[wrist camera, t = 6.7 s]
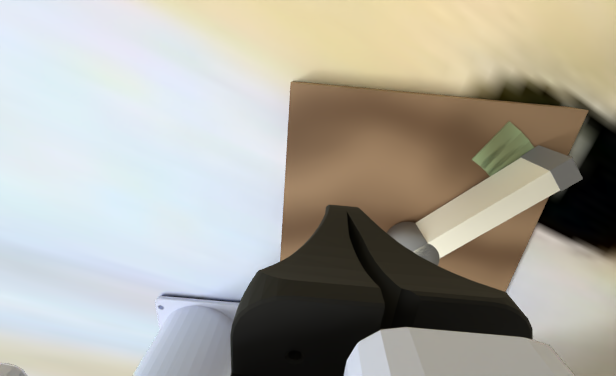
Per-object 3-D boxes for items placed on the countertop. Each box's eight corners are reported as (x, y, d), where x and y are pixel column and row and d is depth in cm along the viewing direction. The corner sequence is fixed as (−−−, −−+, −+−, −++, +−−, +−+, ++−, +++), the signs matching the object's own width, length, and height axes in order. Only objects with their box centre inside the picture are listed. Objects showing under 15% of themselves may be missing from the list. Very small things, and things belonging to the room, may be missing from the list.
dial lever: (398, 262, 22) (408, 287, 20) (376, 236, 21) (383, 258, 19) (552, 172, 19) (587, 187, 16) (534, 136, 18) (567, 147, 16)
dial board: (473, 329, 27) (482, 344, 25) (278, 312, 27) (276, 326, 25) (568, 107, 19) (590, 110, 17) (292, 81, 19) (290, 82, 17)
